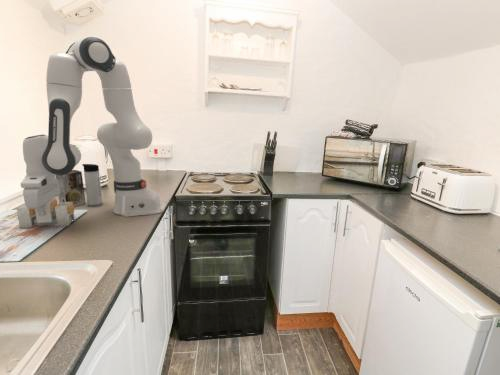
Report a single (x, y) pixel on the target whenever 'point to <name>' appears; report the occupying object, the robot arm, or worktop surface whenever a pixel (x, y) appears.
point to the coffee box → (71, 188)
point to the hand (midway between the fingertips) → (47, 212)
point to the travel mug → (92, 185)
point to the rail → (61, 219)
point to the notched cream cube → (47, 211)
